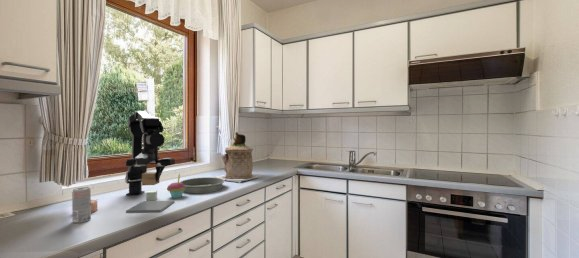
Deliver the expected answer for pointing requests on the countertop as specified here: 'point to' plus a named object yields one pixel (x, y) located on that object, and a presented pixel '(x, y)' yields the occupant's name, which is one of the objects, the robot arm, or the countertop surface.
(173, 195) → the cupcake
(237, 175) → the cookie jar
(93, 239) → the countertop surface
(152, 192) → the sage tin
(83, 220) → the energy drink
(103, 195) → the countertop surface
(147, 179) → the walnut cube
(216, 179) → the cake pan
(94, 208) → the light brown block
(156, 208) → the slate trivet
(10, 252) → the countertop surface
